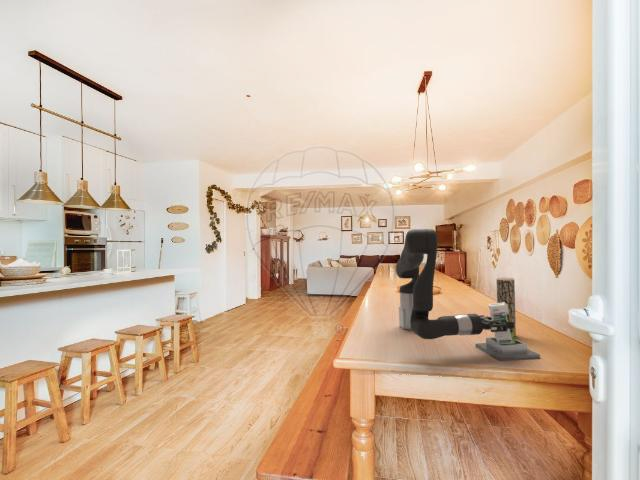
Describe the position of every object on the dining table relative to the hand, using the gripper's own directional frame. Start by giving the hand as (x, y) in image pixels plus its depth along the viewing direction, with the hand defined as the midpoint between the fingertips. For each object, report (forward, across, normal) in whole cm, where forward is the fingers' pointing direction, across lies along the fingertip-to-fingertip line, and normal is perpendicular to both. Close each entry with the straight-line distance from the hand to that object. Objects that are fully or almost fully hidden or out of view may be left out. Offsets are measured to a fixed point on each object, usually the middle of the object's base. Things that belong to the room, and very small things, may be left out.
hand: (506, 322), depth 120 cm
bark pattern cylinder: (+14, +18, +11) cm, 26 cm away
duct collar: (-1, 0, +11) cm, 11 cm away
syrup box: (-1, -1, +8) cm, 8 cm away
